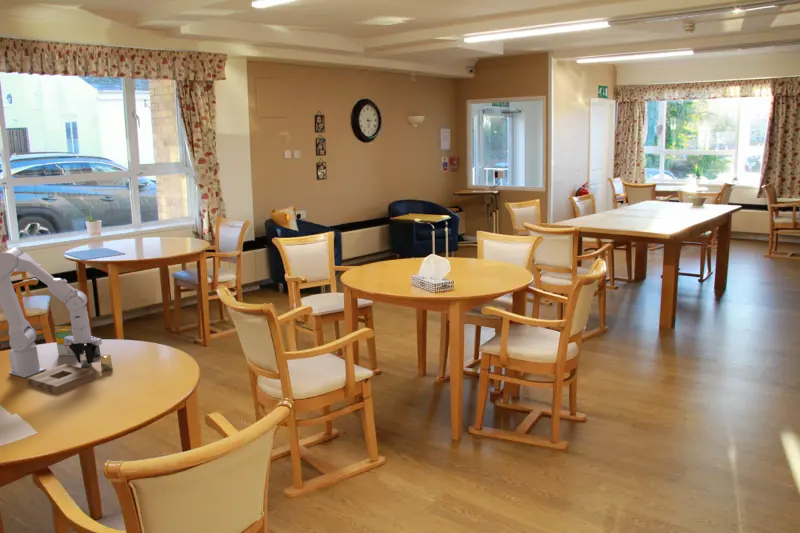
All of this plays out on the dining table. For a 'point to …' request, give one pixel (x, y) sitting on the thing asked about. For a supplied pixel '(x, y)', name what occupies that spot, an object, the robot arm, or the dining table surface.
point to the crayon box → (61, 345)
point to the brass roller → (106, 363)
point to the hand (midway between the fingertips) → (86, 362)
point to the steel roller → (84, 360)
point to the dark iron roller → (97, 352)
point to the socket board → (61, 378)
